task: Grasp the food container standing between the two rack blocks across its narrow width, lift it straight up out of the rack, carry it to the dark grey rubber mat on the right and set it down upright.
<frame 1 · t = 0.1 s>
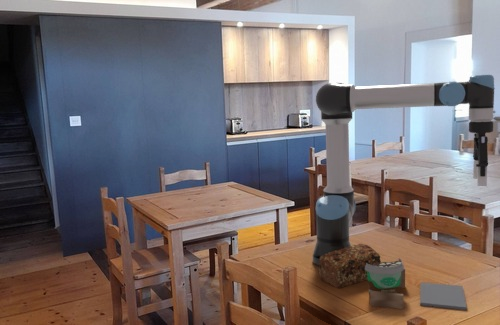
hand: (479, 182, 161), 28 cm above the table, fingers open, 13 cm apart
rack: (388, 295, 139), on the table
food container: (388, 296, 139), on the table
mat: (442, 296, 136), on the table
bread: (350, 278, 154), on the table
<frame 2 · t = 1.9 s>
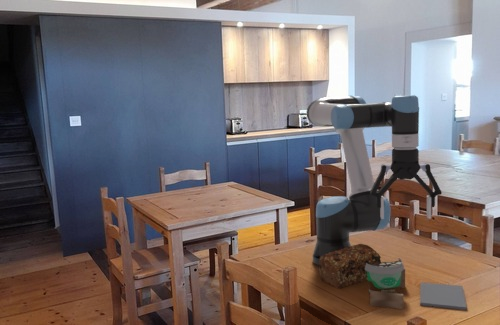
hand: (405, 217, 140), 23 cm above the table, fingers open, 13 cm apart
nothing on the table moved.
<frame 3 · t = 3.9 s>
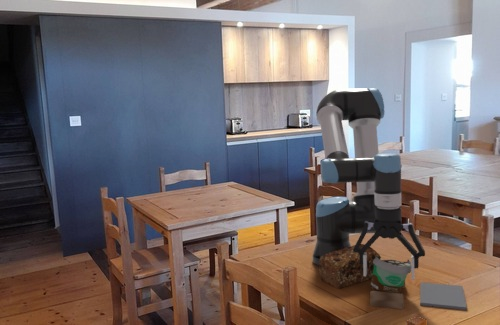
hand: (388, 276, 137), 6 cm above the table, fingers open, 13 cm apart
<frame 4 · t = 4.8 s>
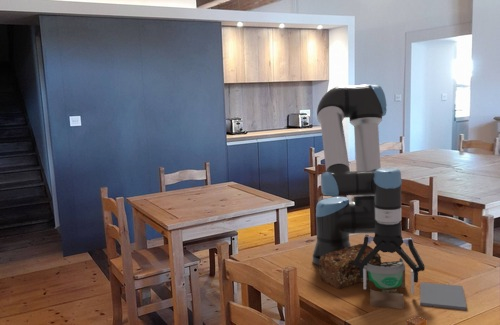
hand: (388, 290, 139), 2 cm above the table, fingers open, 13 cm apart
food container: (389, 296, 139), on the table, touching gripper
everything else where it was.
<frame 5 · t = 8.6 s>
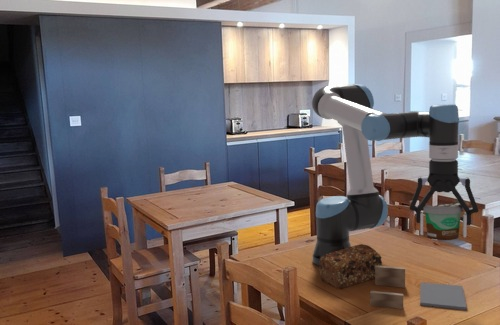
hand: (442, 234, 134), 19 cm above the table, fingers closed on food container, 11 cm apart
food container: (448, 238, 134), point 18 cm above the table, touching gripper
everything else where it was.
when the fingers open (3 cm above the table, at t = 11.8 s): food container drops 1 cm, resting on mat.
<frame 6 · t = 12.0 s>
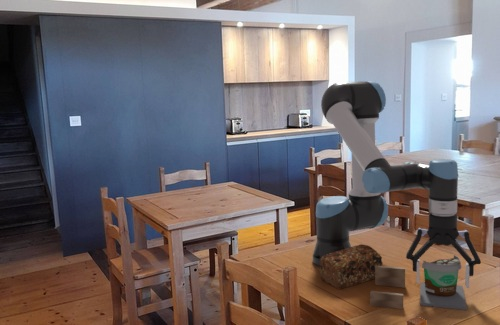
hand: (442, 283, 136), 4 cm above the table, fingers open, 13 cm apart
food container: (445, 294, 136), point 1 cm above the table, touching mat
everything else where it was.
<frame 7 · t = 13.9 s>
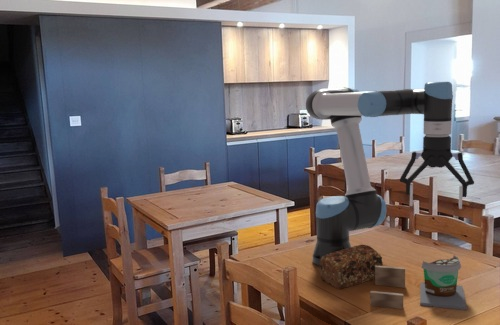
hand: (435, 206, 138), 26 cm above the table, fingers open, 13 cm apart
nothing on the table moved.
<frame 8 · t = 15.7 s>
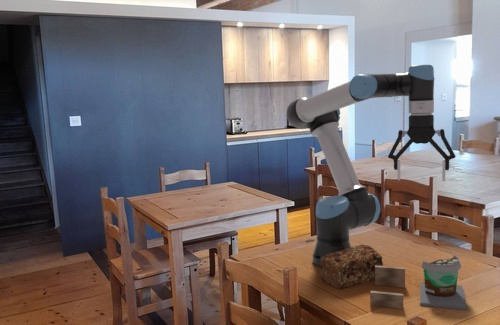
hand: (420, 180, 150), 32 cm above the table, fingers open, 13 cm apart
nothing on the table moved.
at the end: food container inside the target area on the mat (1.0 cm from its centre), point 0.6 cm above the mat's base; food container tilted 0°; the gripper is holding nothing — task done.
